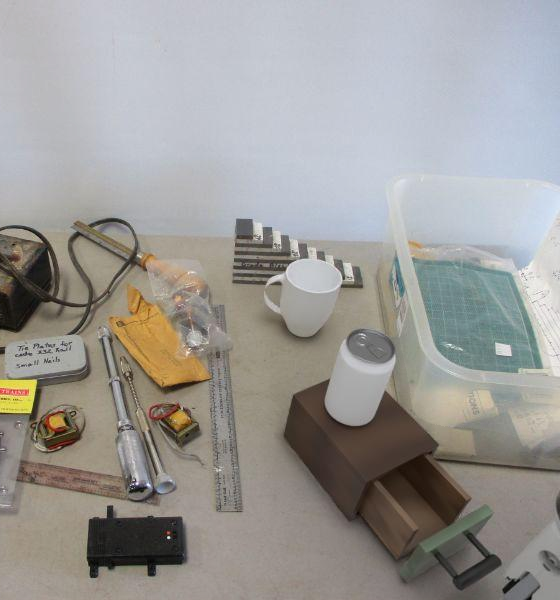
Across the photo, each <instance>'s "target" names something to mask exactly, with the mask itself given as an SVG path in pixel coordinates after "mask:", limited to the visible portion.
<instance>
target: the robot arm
mask: <svg viewBox="0 0 560 600" xmlns="http://www.w3.org/2000/svg"><path fill="white" fill-rule="evenodd" d="M552 512H553V517H554V518H552V519H551V520H550V521H549V522H548V523H547V524H546V525H545V526H544V527H543V528H542V529H541V530H540V531H539V532H538V533H537V534H536V535H535V536H534V537H533V538H532V539H531V540H530V541H529V542H528V543H527V544H526V545H525V546H524V548H523V549H521V551H519V553H518V554H516V556H515V557H514V558H513V559H512V560H511V561H510V562H509V564H508V565H507V566H506V567H505V568H504V571H503V579H504V580H508V583H507V584H506V585H505V586H503V588H502V590H501V591H502V593H503V595H502V598H503V599H504V600H560V490H558V492H557V493H556V494H555V496H554V498H553V502H552Z"/></svg>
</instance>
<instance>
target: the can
mask: <svg viewBox="0 0 560 600" xmlns="http://www.w3.org/2000/svg"><path fill="white" fill-rule="evenodd" d="M396 351H397V349H396V345H395V343H394V341H393V340H392V338H391V337H389V336H388V335H387V334H385V333H384V332H382V331H380V330H378V329H374V328H370V327H361V328H356V329H354V330H352V331H350V333H348V335H347V336H346V338H345V339H344V340H343V341H342V342H341V344H340V347H339V350H338V353H337V356H336V359H335V362H334V365H333V369H332V373H331V376H330V378H331V379H330V378H329V379H330V382H329V386H328V389H327V393H326V396H325V407H326V409H327V411H328V413H329V414H330V415H331V416H332V417H333V418H334V419H335V420H337V421H338V422H340V423H342V424H345V425H349V426H361V425H364V424H367V423H368V422H370V421H371V420H372V419H373V417H374V415H375V413H376V410H377V408H378V406H379V403H380V401H381V398H382V396H383V393H384V391H385V390H386V389H387V386H388V383H389V381H390V378H391V375H392V373H393V370H394V368H395V365H396Z"/></svg>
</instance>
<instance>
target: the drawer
mask: <svg viewBox="0 0 560 600" xmlns="http://www.w3.org/2000/svg"><path fill="white" fill-rule="evenodd" d="M471 500H472V496H471V495H470V494H469V493H468V492H467V491H466V490H465V489H464V488H463V487H462V486H461V485H460V484H459V482H457V481H456V480H455V479H454V478H453V477H452V476H451V474H449V473H448V471H446V469H445V468H444V467H443V466H441V464H440V463H439V462H438V461H437V460H436V459H435V458H434V456H433V457H432V456H431V455H430V454H429V453H427V454H425V455H423V456H421V457H419V458H417V459H415V460H413V461H412V462H410V463H408V464H406V465H404V466H402V467H400V468H398V469H396V470H394V471H392V472H390V473H389V474H387V475H385V476H383V477H381V478H379V479H377V480H375V481H373V482H371V483H370V485H369V487H368V489H367V492H366V494H365V496H364V498H363V500H362V503H361V505H360V507H359V509H358V512H359V513H360V514H361V517H362V518H363V519H364V520H365V522H367V524H368V526H369V527H370V528H371V530H372V531H373V532H374V533H375V535H376V536H377V537H378V538H379V539H380V540H381V542H382V543H383V544H384V546H385V548H386V549H388V550H389V552H390V553H391V554H392V556H393V557H394V558H395V559H396V560H399V559H400V558H402V557H404V556H406V555H407V554H409V553H410V552H412V553H411V555H410V556H409V558H408V559H407V562H406V563H405V564H404V566H403V567H402V568H401V571H400V572H399V575H400V576H401V577H402V579H403V580H404V581H405V582H406V583H409V582H410V581H413V580H414V579H415V578H417V577H419V576H421V574H423V573H425V572H427V571H429V569H432V568H433V567H434V566H436V565H438V564H440V565H441V566H442V568H443V569H444V570H445V571H446V572H447V573H448V574H449V576H450V578H452V584H453V585H454V587H455V588H456V589H457V590H458V591H464V590H466V589H467V588H469V587H471V586H472V585H474V584H475V583H477V582H479V581H480V580H482V579H483V578H485V577H486V576H488V575H489V574H491V573H493V572H494V571H496V570H497V569H499V568H500V567H501V566H502V565H503V563H502V560H501V558H500V557H499V556H498V555H497V554H495V553H491V552H490V551H489V550H488V549H487V548H486V547H485V546H484V545H483V544H482V543H481V542H480V540H478V539H477V536H478V534H479V533H480V532H481V531H482V529H483V528H484V527H485V526H486V524H487V523H488V522H489V520H490V519H491V518H492V516H493V515H494V514H495V512H494V510H493V509H491V507H489V505H488V504H486V503H485V504H483V505H482V506H480V507H478V508H476V509H475V510H473V511H471V512H470V513H468V514H466V515H465V516H462V517H461V515H462V513H463V512H464V510H465V509H466V507H467V506H468V505H469V503H470V501H471ZM459 517H461V518H460V519H459ZM471 544H472V546H474V548H475V549H476V550H477V552H479V553H480V554H481V555H482V556H483V557H484V558H483V559H481V560H480V561H479V562H477V563H475V564H474V565H472V566H470V567H468V568H467V569H466V570H464V571H463V572H461V573H459V572H457V570H456V569H455V568H454V567H453V566H452V565H451V564H450V562H449V561H448V560H447V559H448V558H449V557H451V556H454V554H456V553H458V552H459V551H461V550H462V549H464V548H466V547H467V546H469V545H471Z"/></svg>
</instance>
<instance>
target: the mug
mask: <svg viewBox="0 0 560 600" xmlns="http://www.w3.org/2000/svg"><path fill="white" fill-rule="evenodd" d="M276 282H280V283H281V294H280V299H279V303H280V304H279V306H278V305H276V304H275V303H273V301H271V299H269V297H268V294H267V292H266V289H267V288H268V286H269V285H271V284H274V283H276ZM342 283H343V276H342V273H341V271H340V270H339V269H338V268H337V267H336V266H335V265H333V264H331V263H330V262H327V261H324V260H321V259H317V258H302V259H301V258H300V259H297V260H295V261H292V262H291V263H290V264H288V266H287V267H286V269H285V271H284V272H283V273H281V274H276V275H273V276H271V277H270V278H269V279H267V282H266V283H265V287H264V291H263V300H264V303H265V304H266V306H267V307H268V308H269V309H270V310H271V311H272V312H273V313H275V314H279V315H280V316H282V318H283V321H284V322H285V324H286V327H287V329H288V331H289V332H290V333H291V334H292V335H294V336H297V337H300V338H309V337H312V336H314V335H315V334H317V332H318V331H319V330H320V329H321V328H322V327H323V326H324V325H325V324H326V323H327V322H328V321H329V319H330V318H331V315H332V314H333V312H334V309H335V305H336V303H337V299H338V296H339V293H340V290H341V286H342Z"/></svg>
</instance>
